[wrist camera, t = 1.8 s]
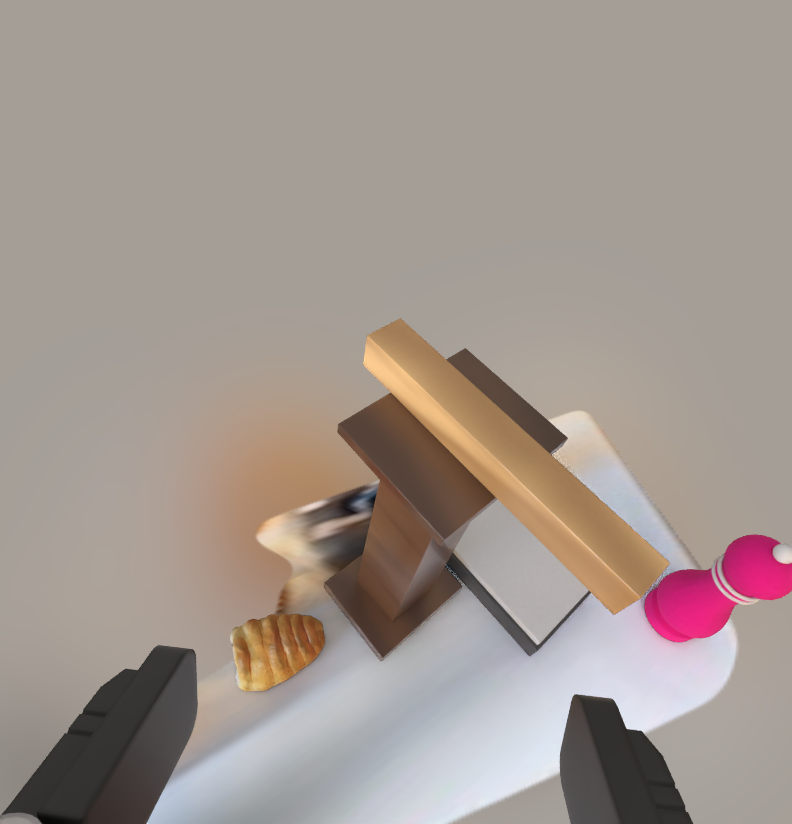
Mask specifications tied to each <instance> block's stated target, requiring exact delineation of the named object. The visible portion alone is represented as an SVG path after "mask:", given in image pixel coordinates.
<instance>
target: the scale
mask: <svg viewBox="0 0 792 824" xmlns="http://www.w3.org/2000/svg"><path fill="white" fill-rule="evenodd" d="M447 564H448V566H449V567H450V568H451V569H452V570H453V571H454V572H455V573H456V574H457V576H458V577H459V578H460V579H461V580H462V581H463V582H464V583H465V585H466V586H467V587H468V588H469V589H470V590H471V591H472V592H473V593H474V595H475V596H476V597H477V598H478V599H479V600H480V601H481V602H482V604H483V605H484V606H485V607H486V608H487V609H488V610H489V611H490V612H491V614H492V615H493V616H494V617H495V618H496V619H497V620H498V621H499V622H500V624H501V625H502V626H503V627H504V628H505V629H506V630H507V631H508V633H509V634H510V635H511V636H512V637H513V638H514V639H515V640H516V641H517V643H518V644H519V645H520V646H521V647H522V648H523V649H524V650H525V652H526V653H527V654H528V655H529V656H531V655H532V654H534V653H535V652H537V651H538V650H539V649H540V648H541V647H542V646H543V644H544V643H545V642H546V641H547V640H548V639H549V638H550V637H551V636H552V635H553V634H554V632H555V631H556V630H557V629H558V628H559V627H560V626H561V625H562V624H563V623H564V622H565V620H566V619H567V618H568V617H569V616H570V615H571V614H572V613H573V612H574V611H575V610H576V608H577V607H578V606H579V605H580V604H581V603H582V602H583V601H584V600H585V599H586V598H587V597H588V595H589V594H590V593H591V592H590V591H589V590H588V589H587V588H586V587H585V586H584V585H583V584H582V583H581V582H580V581H579V580H578V579H577V578H576V577H575V576H574V575H573V574H572V573H571V572H570V571H569V570H568V569H567V568H566V567H565V566H564V565H563V564H562V563H561V562H560V561H559V560H558V559H557V558H556V557H555V556H554V555H553V554H552V553H551V552H550V551H549V550H548V549H547V548H546V547H545V546H544V545H543V544H542V543H541V542H540V541H539V540H538V539H537V538H536V537H535V536H534V535H533V534H532V533H531V532H530V531H529V530H528V529H527V528H526V527H525V526H524V525H523V524H522V523H521V522H520V521H519V520H518V519H517V518H516V517H515V516H514V515H513V514H512V513H511V512H510V511H509V510H508V509H507V508H506V507H505V506H504V505H503V504H502V503H501V502H500V501H499V500H496V501H495V502H494V503H493V504H491V505H490V506H489V507H488V508H487V509H485V510H484V511H483V512H482V513H481V514H479V515H478V516H477V517H476V518H475V519H473V520H472V521H471V522H470V524H469V525H468V527H467V529H466V531H465V532H464V534H463V536H462V537H461V539H460V541H459V543H458V544H457V546H456V548H455V550H454V551H453V553H452V555H451V556H450V558H449V560H448V562H447Z"/></svg>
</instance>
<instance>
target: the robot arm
mask: <svg viewBox="0 0 792 824" xmlns="http://www.w3.org/2000/svg"><path fill="white" fill-rule="evenodd" d="M197 705H198V703H197V674H196V654H195V651H194V650H193V649H185V648H178V647H169V646H161V645H159V646H156V647H155V648H154V649H153V650H152V651H151V653H150V654H149V656H148V657H147V658H146V660H145V661H144V663H143V664H142V666H141V667H140V668H139V670H131V669H125V670H123V671H122V672H120V673H119V674H118V675H116V676H115V677H114V678H112V679H111V680H110V681H108V682H107V683H106V684H104V685H103V686H101V687H100V689H99V690H98V691H97V693H96V694H95V695H94V696H93V698H92V699H91V700H90V702H89V703H88V704H87V705H86V707H85V708H84V710H83V713H82V714H80V715H79V716H78V717H77V718H76V720H75V721H74V722H73V724H72V725H71V726H70V728H69V730H68V733H67V734H64V735H63V737H62V738H61V739H60V740H59V742H58V743H57V745H56V746H55V747H54V748H53V749H52V751H51V752H50V753H49V755H48V756H47V757H46V759H45V760H44V761H43V762H42V764H41V765H40V766H39V768H38V769H37V770H36V772H35V773H34V774H33V775H32V777H31V778H30V779H29V781H28V782H27V783H26V784H25V786H24V787H23V788H22V790H21V791H20V792H19V793H18V795H17V796H16V797H15V799H14V800H13V801H12V802H11V804H10V805H9V806H8V808H7V809H6V810H5V811H4V812H3V813H2V815H0V824H146V823H147V821H148V819H149V817H150V815H151V813H152V811H153V809H154V807H155V805H156V803H157V801H158V799H159V797H160V795H161V794H162V792H163V790H164V788H165V786H166V784H167V782H168V780H169V778H170V776H171V774H172V772H173V770H174V768H175V766H176V764H177V762H178V760H179V758H180V756H181V754H182V752H183V750H184V748H185V746H186V744H187V742H188V740H189V738H190V736H191V733H192V731H193V727H194V724H195V720H196V715H197ZM560 776H561V783H562V788H563V792H564V796H565V801H566V805H567V809H568V813H569V818H570V822H571V824H693V822H692V820H691V818H690V816H689V814H688V812H686V810H685V805H684V802H683V800H682V798H681V796H680V793H679V791H678V790H677V789H676V788H675V782H674V780H673V778H672V776H671V773H670V771H669V769H668V767H667V765H666V762H665V760H664V758H663V756H662V755H661V753H660V752H659V751H658V750H657V749H656V748H655V746H654V745H653V744H652V743H651V742H650V741H649V739H648V738H647V737H646V736H645V735H644V733H643V732H642V731H637V730H629V729H626V727H625V724H624V722H623V719H622V717H621V714H620V712H619V709H618V707H617V705H616V703H615V701H614V700H613V699H610V698H602V697H593V696H585V695H577V694H576V695H574V696H573V698H572V701H571V706H570V710H569V715H568V719H567V724H566V728H565V733H564V737H563V742H562V746H561V752H560Z"/></svg>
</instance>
